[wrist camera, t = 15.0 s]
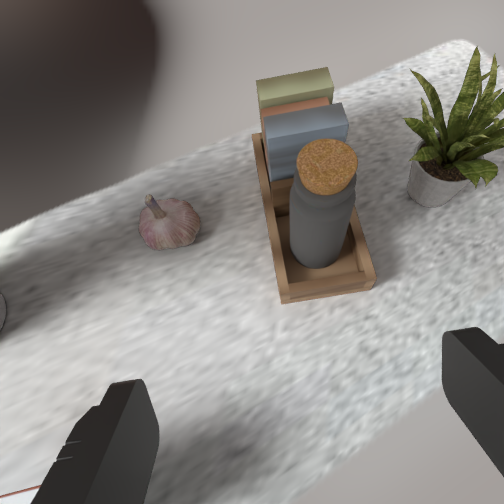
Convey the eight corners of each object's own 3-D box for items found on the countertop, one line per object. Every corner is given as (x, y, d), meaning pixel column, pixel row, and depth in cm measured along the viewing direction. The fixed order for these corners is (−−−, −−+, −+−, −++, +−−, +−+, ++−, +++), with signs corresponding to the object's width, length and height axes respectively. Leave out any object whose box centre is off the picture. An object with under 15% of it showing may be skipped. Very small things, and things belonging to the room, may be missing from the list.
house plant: (527, 227, 41) (660, 119, 26) (413, 264, 40) (482, 176, 25) (460, 137, 47) (536, 9, 32) (360, 168, 46) (392, 53, 32)
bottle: (350, 258, 40) (379, 176, 26) (301, 276, 40) (306, 202, 26) (327, 217, 43) (344, 123, 29) (282, 234, 42) (277, 146, 29)
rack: (370, 289, 40) (403, 235, 28) (281, 304, 40) (275, 256, 28) (325, 139, 49) (336, 51, 37) (254, 152, 49) (241, 69, 37)
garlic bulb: (133, 238, 46) (103, 204, 39) (171, 198, 48) (150, 159, 41) (175, 269, 43) (152, 240, 36) (214, 226, 45) (198, 190, 38)
